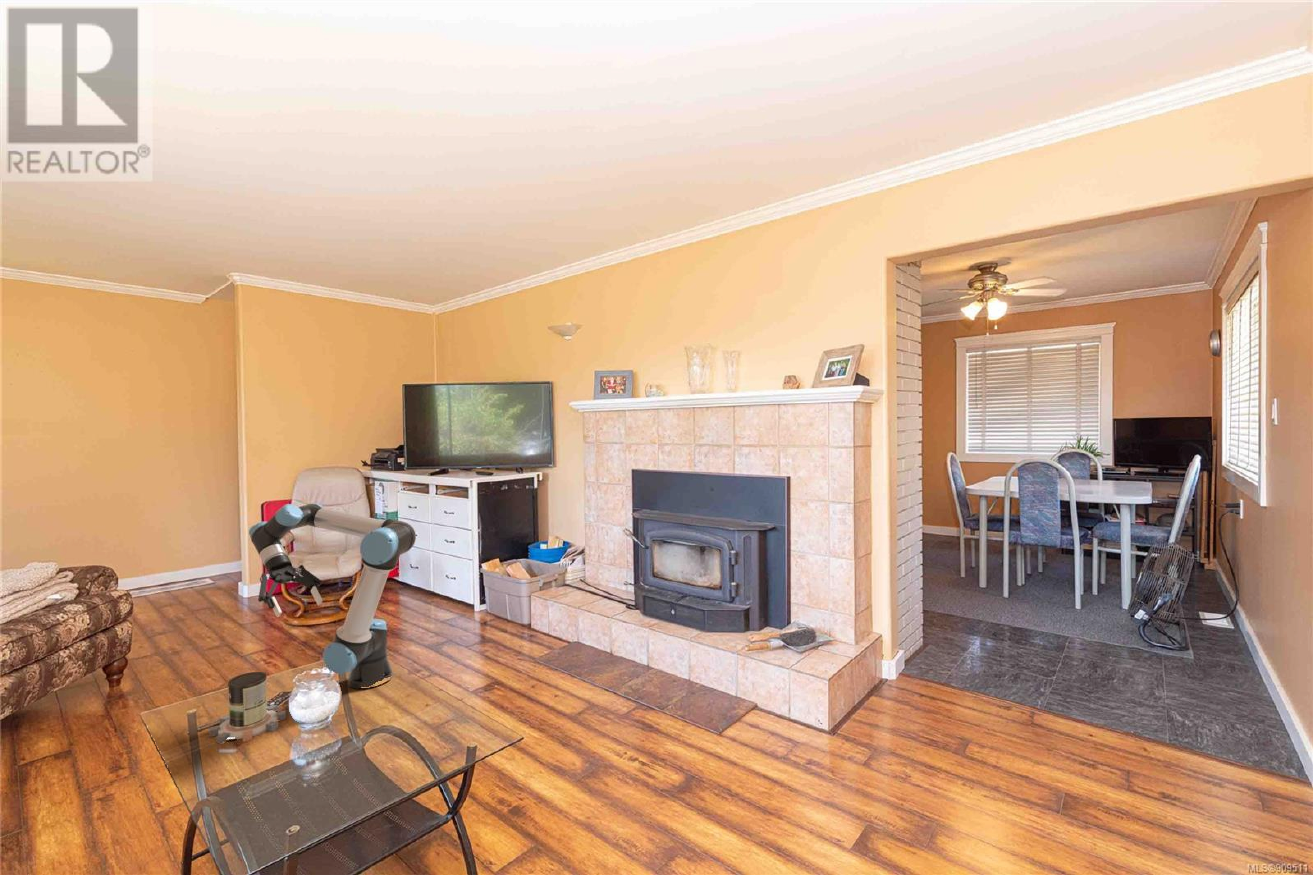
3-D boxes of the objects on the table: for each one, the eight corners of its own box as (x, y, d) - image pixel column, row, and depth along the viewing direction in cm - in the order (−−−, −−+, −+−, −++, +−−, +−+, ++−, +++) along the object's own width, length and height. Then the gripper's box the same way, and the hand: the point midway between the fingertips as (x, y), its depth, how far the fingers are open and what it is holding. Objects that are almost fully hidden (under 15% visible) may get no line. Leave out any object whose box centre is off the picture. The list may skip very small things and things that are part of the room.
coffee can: (224, 731, 187) (223, 687, 186) (234, 716, 196) (233, 674, 196) (262, 726, 190) (261, 682, 190) (271, 710, 200) (270, 669, 199)
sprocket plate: (212, 721, 196) (212, 715, 196) (285, 704, 207) (284, 699, 207) (206, 751, 179) (206, 744, 179) (286, 731, 190) (286, 725, 190)
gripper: (308, 559, 223) (332, 604, 215) (233, 575, 201) (257, 626, 194) (315, 546, 220) (340, 592, 212) (239, 561, 198) (264, 613, 191)
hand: (300, 608), depth 203 cm, fingers open, 13 cm apart
